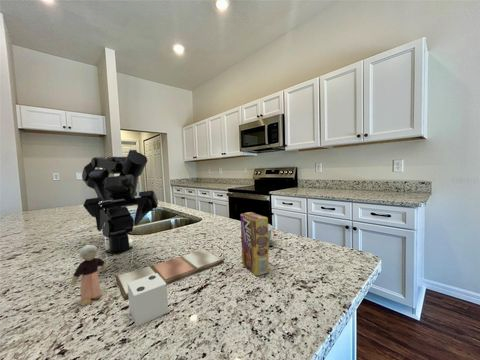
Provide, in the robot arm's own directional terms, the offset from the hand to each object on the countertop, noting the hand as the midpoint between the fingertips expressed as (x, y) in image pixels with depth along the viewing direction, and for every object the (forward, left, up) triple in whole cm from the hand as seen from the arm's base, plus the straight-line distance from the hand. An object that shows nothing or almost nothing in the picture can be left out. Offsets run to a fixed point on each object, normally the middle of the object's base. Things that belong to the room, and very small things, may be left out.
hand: (117, 227), depth 57 cm
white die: (+18, -7, -14) cm, 24 cm away
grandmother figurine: (+2, -9, -14) cm, 17 cm away
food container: (+26, +36, -14) cm, 47 cm away
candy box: (+32, +18, -14) cm, 39 cm away
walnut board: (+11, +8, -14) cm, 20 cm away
